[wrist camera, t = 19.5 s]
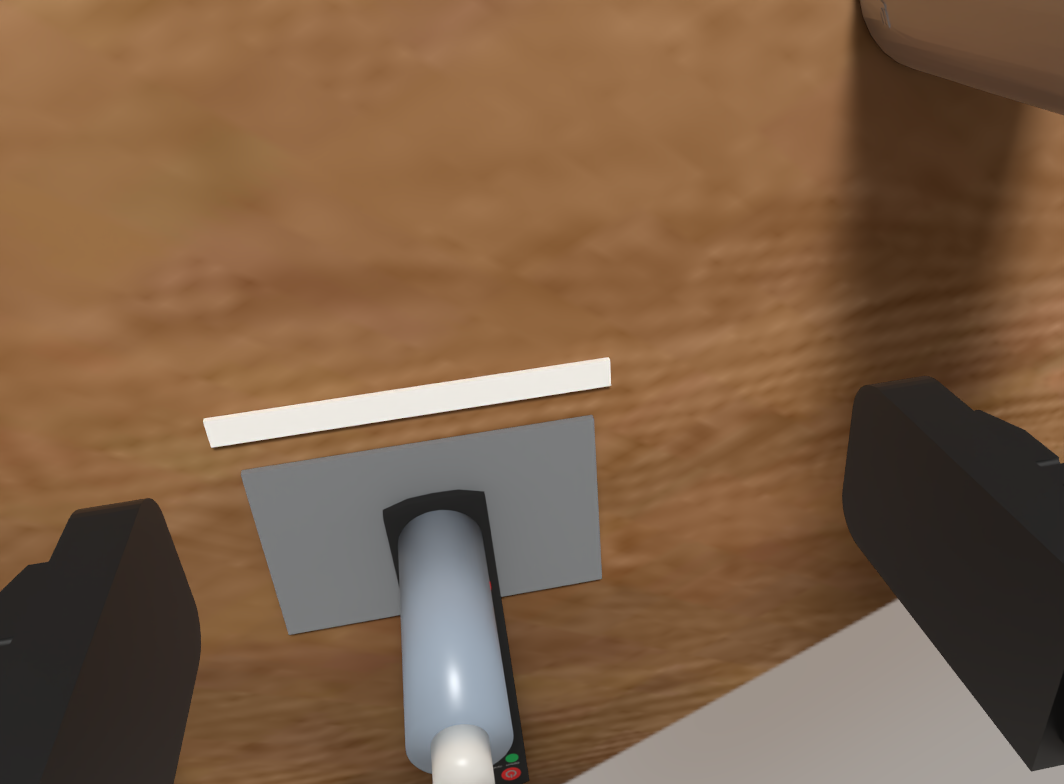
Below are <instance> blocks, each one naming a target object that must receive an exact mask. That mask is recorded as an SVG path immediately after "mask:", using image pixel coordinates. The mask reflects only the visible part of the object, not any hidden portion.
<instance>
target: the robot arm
mask: <svg viewBox="0 0 1064 784" xmlns="http://www.w3.org/2000/svg"><path fill="white" fill-rule="evenodd" d="M860 4H861V9H862V14H863V18H864V20H865V22H866V25H867V27H868V29H869V32H870V34H871V36H872V37H873V39H874V40H875V41H876V43H877V44H878V45H879V47H880V48H881V49H882V50H883V52H885V53H886V54H887V55H889V56H890V57H891V58H893V59H894V60H895V61H896V62H898V63H900V64H902V65H905V66H908V67H910V68H913V69H915V70H918V71H922V72H925V73H928V74H931V75H935V76H938V77H941V78H945V79H948V80H951V81H954V82H957V83H960V84H963V85H966V86H969V87H972V88H976V89H979V90H982V91H985V92H989V93H992V94H995V95H999V96H1002V97H1005V98H1008V99H1012V100H1015V101H1018V102H1022V103H1025V104H1028V105H1031V106H1035V107H1038V108H1041V109H1045V110H1048V111H1051V112H1054V113H1058V114H1061V115H1064V0H860ZM842 501H843V510H844V515H845V519H846V523H847V526H848V529H849V531H850V533H851V536H852V537H853V539H854V541H855V543H856V544H857V546H858V547H859V548H860V550H861V551H862V552H863V553H864V555H865V556H866V557H867V559H868V560H869V561H870V563H871V564H872V565H873V566H874V568H875V569H876V570H877V572H878V573H879V574H880V576H881V577H882V578H883V579H884V581H885V582H886V583H887V585H888V586H889V587H890V589H891V590H892V591H893V592H894V594H895V595H896V596H897V598H898V599H899V600H900V602H901V603H902V604H903V605H904V607H905V608H906V609H907V611H908V612H909V613H910V615H911V616H912V617H913V618H914V620H915V621H916V622H917V623H918V625H919V626H920V627H921V629H922V630H923V631H924V633H925V634H926V635H927V637H928V638H929V639H930V640H931V642H932V643H933V644H934V646H935V647H936V648H937V650H938V651H939V652H940V653H941V655H942V656H943V657H944V659H945V660H946V661H947V663H948V664H949V665H950V666H951V668H952V669H953V670H954V672H955V673H956V674H957V676H958V677H959V678H960V679H961V681H962V682H963V683H964V685H965V686H966V687H967V688H968V690H969V691H970V692H971V694H972V695H973V696H974V698H975V699H976V700H977V701H978V703H979V704H980V705H981V707H982V708H983V709H984V711H985V712H986V713H987V714H988V716H989V717H990V718H991V720H992V721H993V722H994V724H995V725H996V726H997V728H998V729H999V730H1000V731H1001V733H1002V734H1003V735H1004V737H1005V738H1006V739H1007V741H1008V742H1009V743H1010V744H1011V746H1012V747H1013V748H1014V749H1015V751H1016V752H1017V754H1018V755H1019V756H1020V757H1021V759H1022V760H1023V761H1024V763H1025V764H1026V765H1027V767H1028V768H1029V769H1030V770H1031V771H1035V770H1040V769H1044V768H1049V767H1054V766H1058V765H1064V463H1062V464H1061V463H1060V462H1059V457H1058V456H1057V455H1055V454H1054V453H1053V452H1052V451H1050V450H1049V449H1048V448H1047V447H1045V446H1044V445H1043V444H1042V443H1040V442H1039V441H1038V440H1037V439H1035V438H1034V437H1033V436H1032V435H1030V434H1029V433H1028V432H1027V431H1025V430H1023V429H1021V428H1019V427H1017V426H1014V425H1012V424H1010V423H1008V422H1005V421H1003V420H1001V419H999V418H997V417H994V416H992V415H990V414H988V413H985V412H983V411H981V410H975V411H973V410H972V409H971V408H970V407H968V406H967V405H966V404H965V403H964V402H962V401H961V400H960V399H959V398H958V397H956V396H955V395H954V394H953V393H952V392H950V391H949V390H948V389H947V388H946V387H944V386H943V385H942V384H941V383H940V382H938V381H937V380H936V379H934V378H932V377H929V376H921V377H914V378H908V379H902V380H896V381H889V382H883V383H877V384H871V385H865V386H863V387H861V388H860V389H859V391H858V392H857V394H856V396H855V399H854V404H853V410H852V419H851V427H850V435H849V443H848V451H847V459H846V467H845V475H844V484H843V493H842ZM200 652H201V633H200V623H199V617H198V612H197V608H196V604H195V601H194V598H193V595H192V593H191V590H190V587H189V584H188V582H187V579H186V576H185V573H184V571H183V568H182V565H181V563H180V560H179V557H178V554H177V552H176V549H175V546H174V543H173V541H172V538H171V535H170V532H169V530H168V527H167V524H166V522H165V519H164V516H163V514H162V511H161V509H160V508H159V506H158V504H157V503H156V502H155V501H154V500H153V499H150V498H147V499H140V500H134V501H128V502H122V503H115V504H109V505H103V506H97V507H90V508H84V509H78V510H76V511H75V512H74V513H73V514H72V515H71V517H70V518H69V520H68V522H67V524H66V527H65V529H64V531H63V533H62V535H61V537H60V539H59V541H58V543H57V546H56V548H55V550H54V552H53V554H52V556H51V558H50V560H49V562H45V563H39V564H33V565H28V566H27V567H25V568H24V569H23V570H22V571H21V572H20V573H19V574H18V575H17V576H16V577H15V578H14V579H13V580H12V581H11V582H10V583H9V584H8V585H7V586H6V587H5V588H4V589H3V590H2V591H1V592H0V784H173V783H174V779H175V774H176V769H177V765H178V760H179V755H180V750H181V746H182V741H183V736H184V732H185V727H186V722H187V717H188V713H189V708H190V703H191V699H192V694H193V689H194V684H195V680H196V675H197V670H198V666H199V660H200Z"/></svg>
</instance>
